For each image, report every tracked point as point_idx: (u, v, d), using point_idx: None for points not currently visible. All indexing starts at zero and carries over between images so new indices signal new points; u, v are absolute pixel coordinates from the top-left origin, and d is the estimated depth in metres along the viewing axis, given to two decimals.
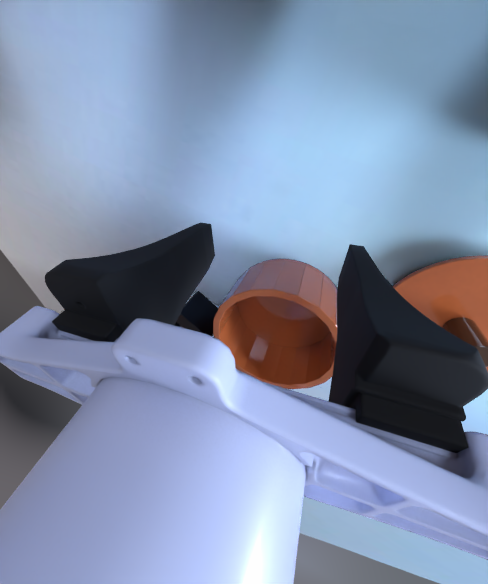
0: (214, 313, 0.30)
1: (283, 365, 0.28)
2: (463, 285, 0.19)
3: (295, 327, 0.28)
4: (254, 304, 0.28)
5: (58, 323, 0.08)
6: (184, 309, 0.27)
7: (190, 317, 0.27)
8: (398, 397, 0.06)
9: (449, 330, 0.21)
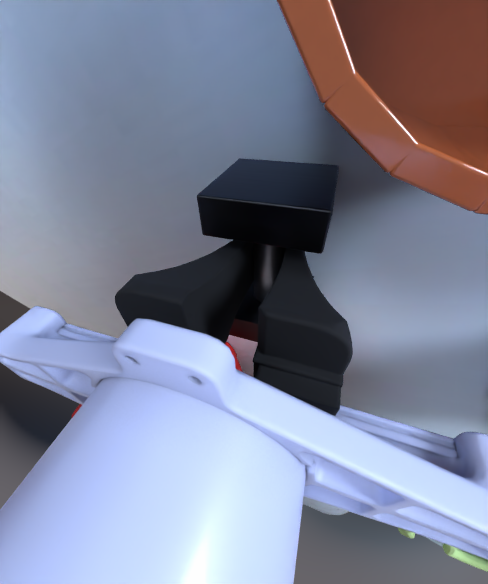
0: (306, 170, 0.10)
1: None
2: None
3: None
4: None
5: None
6: (211, 186, 0.09)
7: (236, 192, 0.09)
8: (288, 367, 0.07)
9: None
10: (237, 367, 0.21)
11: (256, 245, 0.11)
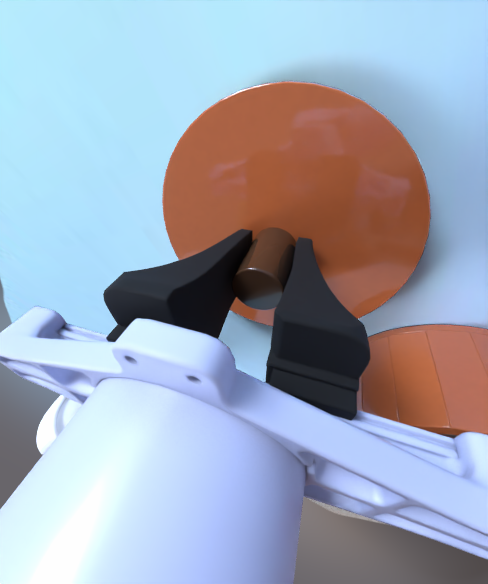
0: None
1: None
2: None
3: None
4: None
5: (113, 340, 0.08)
6: None
7: None
8: (303, 371, 0.07)
9: None
10: None
11: None
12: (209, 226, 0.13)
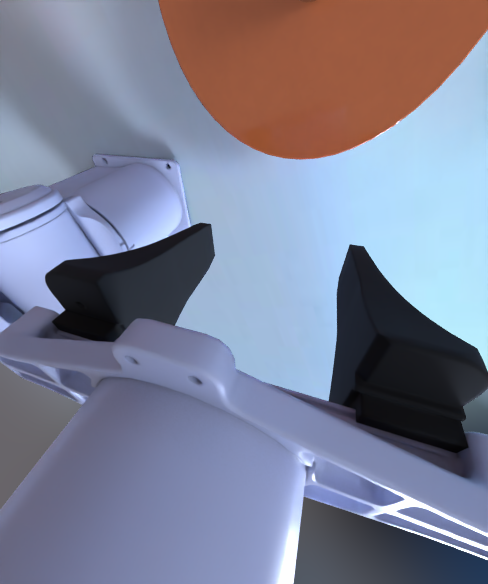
0: None
1: None
2: None
3: None
4: None
5: (58, 323, 0.08)
6: None
7: None
8: (398, 397, 0.06)
9: None
10: None
11: None
12: None
